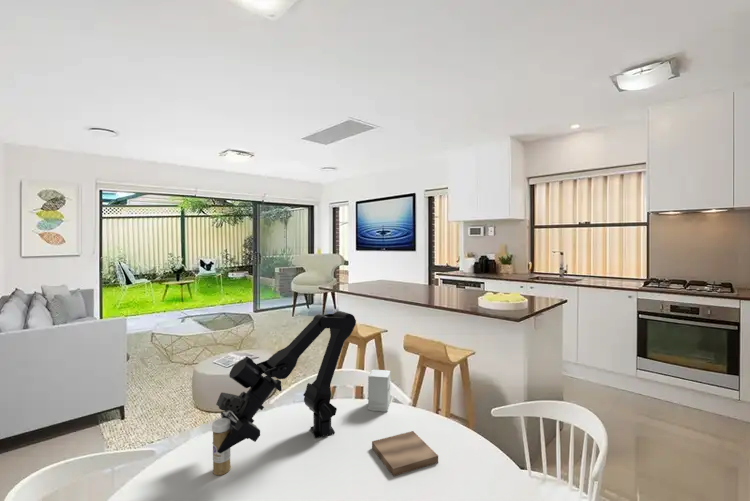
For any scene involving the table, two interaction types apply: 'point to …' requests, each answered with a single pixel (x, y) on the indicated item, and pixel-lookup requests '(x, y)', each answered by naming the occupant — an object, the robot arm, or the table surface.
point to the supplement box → (379, 390)
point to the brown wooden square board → (404, 453)
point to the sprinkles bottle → (219, 434)
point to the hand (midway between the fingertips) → (216, 448)
